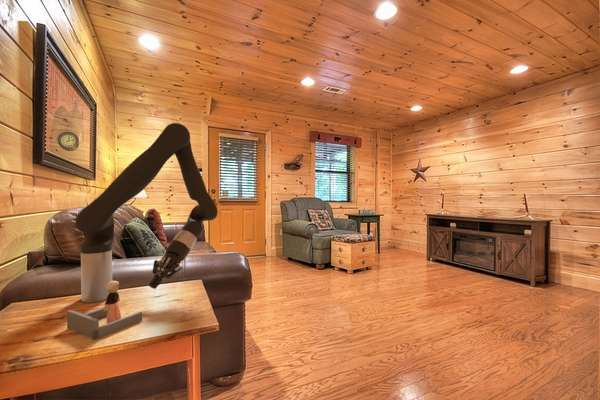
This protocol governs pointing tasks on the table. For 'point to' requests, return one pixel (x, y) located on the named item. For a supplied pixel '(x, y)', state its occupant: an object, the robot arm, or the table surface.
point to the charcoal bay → (97, 323)
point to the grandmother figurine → (112, 302)
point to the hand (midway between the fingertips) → (151, 287)
